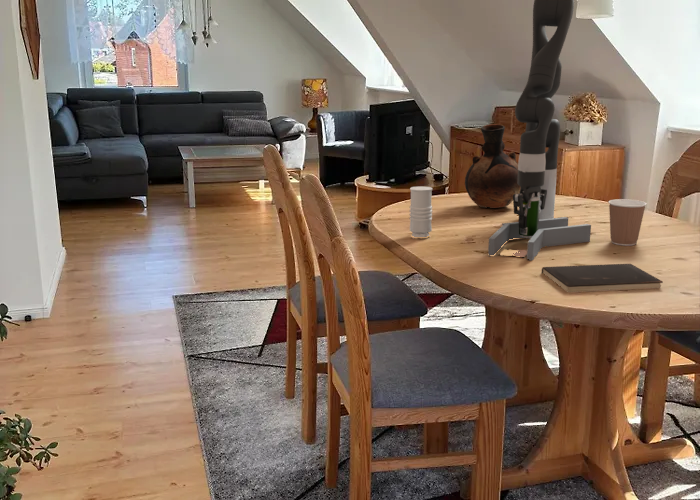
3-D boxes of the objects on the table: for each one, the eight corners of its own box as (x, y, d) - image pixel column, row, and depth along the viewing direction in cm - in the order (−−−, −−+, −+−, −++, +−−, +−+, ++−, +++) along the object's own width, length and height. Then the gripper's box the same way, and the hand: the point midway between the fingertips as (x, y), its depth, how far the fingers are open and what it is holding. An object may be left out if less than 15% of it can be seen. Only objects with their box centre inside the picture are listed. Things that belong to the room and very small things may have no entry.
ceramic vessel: (513, 202, 268) (517, 122, 260) (528, 211, 251) (533, 126, 243) (458, 203, 266) (461, 123, 258) (470, 213, 249) (473, 127, 241)
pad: (504, 249, 200) (504, 248, 200) (529, 252, 197) (529, 250, 197) (498, 255, 194) (498, 254, 194) (524, 258, 191) (524, 256, 191)
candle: (434, 235, 218) (435, 187, 214) (427, 240, 212) (428, 190, 208) (413, 233, 221) (414, 185, 217) (405, 238, 215) (406, 189, 211)
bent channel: (461, 244, 207) (462, 227, 206) (564, 232, 219) (565, 217, 218) (505, 263, 186) (506, 245, 185) (615, 250, 198) (617, 232, 197)
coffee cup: (641, 239, 209) (645, 200, 206) (643, 248, 200) (647, 206, 197) (604, 237, 213) (608, 198, 210) (605, 245, 203) (608, 204, 200)
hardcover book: (661, 290, 165) (662, 281, 164) (566, 295, 163) (567, 285, 162) (628, 271, 180) (629, 262, 180) (541, 275, 178) (541, 266, 177)
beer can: (533, 239, 203) (535, 198, 200) (515, 237, 206) (517, 196, 203) (540, 235, 208) (542, 195, 205) (522, 233, 211) (524, 193, 208)
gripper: (534, 165, 209) (531, 221, 214) (505, 170, 200) (502, 228, 204) (557, 167, 204) (553, 224, 208) (528, 172, 195) (524, 232, 199)
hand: (528, 226), depth 206 cm, fingers closed on beer can, 5 cm apart
